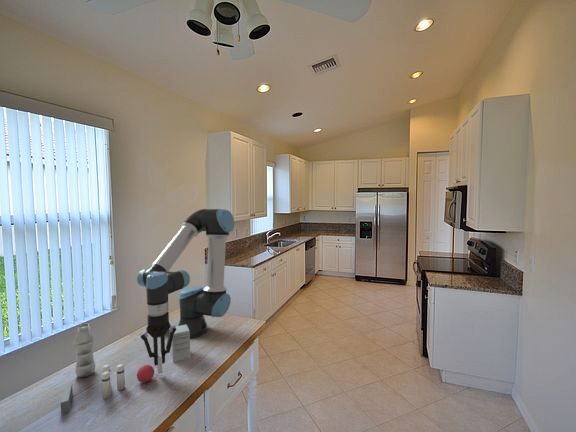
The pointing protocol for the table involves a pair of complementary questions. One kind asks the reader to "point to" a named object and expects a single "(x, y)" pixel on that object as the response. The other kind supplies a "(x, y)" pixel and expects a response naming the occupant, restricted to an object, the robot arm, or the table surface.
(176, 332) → the supplement box
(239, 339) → the table surface
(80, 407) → the table surface
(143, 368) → the ball
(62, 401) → the back wall
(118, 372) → the front pin
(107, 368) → the pin
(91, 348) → the plastic bottle
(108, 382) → the pin
